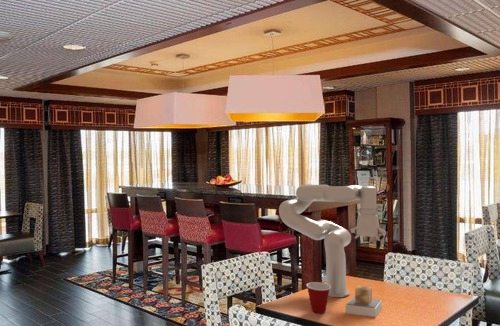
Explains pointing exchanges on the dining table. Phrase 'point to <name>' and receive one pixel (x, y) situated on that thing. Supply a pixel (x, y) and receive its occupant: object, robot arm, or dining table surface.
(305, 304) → the dining table surface
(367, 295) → the oak cube
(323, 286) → the plastic cup
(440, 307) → the dining table surface
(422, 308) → the dining table surface
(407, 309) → the dining table surface
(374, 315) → the plinth
